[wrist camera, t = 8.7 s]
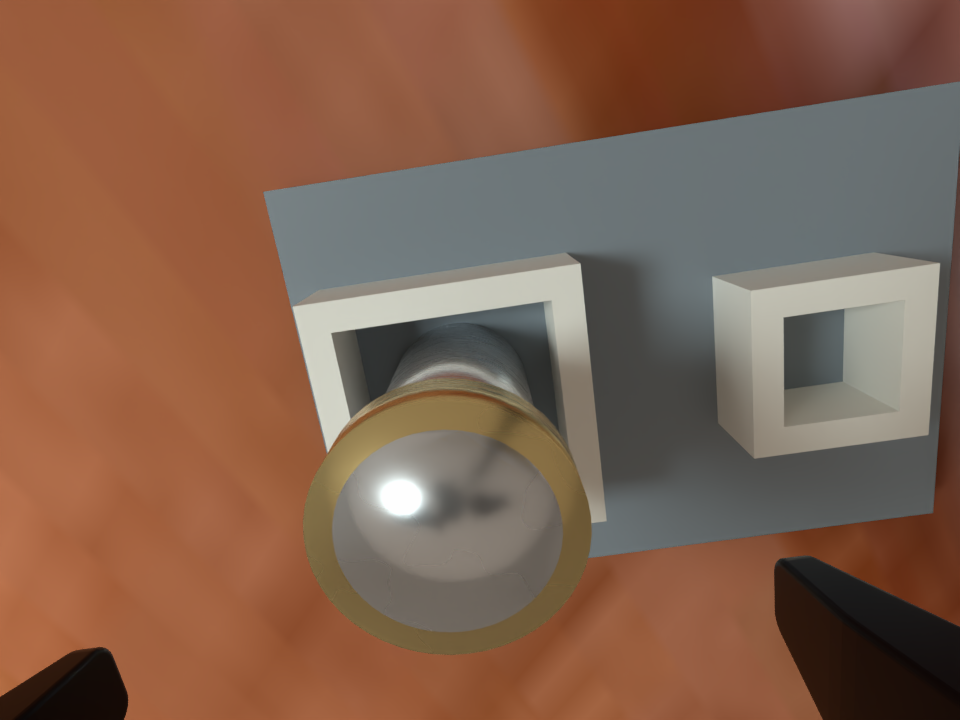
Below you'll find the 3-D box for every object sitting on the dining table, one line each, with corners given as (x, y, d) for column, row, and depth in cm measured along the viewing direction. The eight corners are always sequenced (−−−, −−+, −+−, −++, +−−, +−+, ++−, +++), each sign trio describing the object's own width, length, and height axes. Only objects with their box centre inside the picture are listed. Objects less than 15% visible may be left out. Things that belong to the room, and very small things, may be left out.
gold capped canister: (532, 294, 17) (576, 380, 9) (552, 450, 18) (604, 636, 11) (363, 319, 17) (271, 424, 10) (395, 472, 19) (337, 669, 11)
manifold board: (923, 90, 17) (1053, 61, 13) (900, 490, 21) (998, 559, 17) (280, 191, 18) (226, 192, 14) (367, 561, 21) (343, 642, 17)
